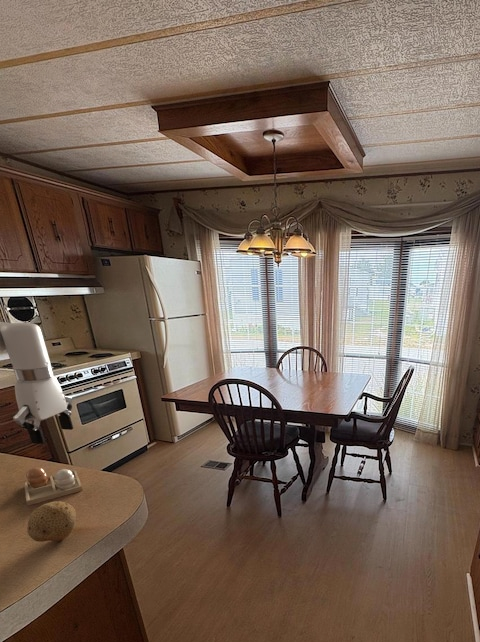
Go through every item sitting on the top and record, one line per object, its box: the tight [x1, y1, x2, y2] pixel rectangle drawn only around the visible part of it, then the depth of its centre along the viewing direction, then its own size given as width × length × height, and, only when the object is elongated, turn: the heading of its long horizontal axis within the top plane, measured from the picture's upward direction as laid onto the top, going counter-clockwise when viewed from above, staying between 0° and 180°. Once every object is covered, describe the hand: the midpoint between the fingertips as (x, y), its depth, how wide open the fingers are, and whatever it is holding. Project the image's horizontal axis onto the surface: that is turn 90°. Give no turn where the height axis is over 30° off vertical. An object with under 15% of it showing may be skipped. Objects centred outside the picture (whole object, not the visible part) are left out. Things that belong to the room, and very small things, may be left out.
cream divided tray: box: [23, 469, 83, 506], centre depth 101 cm, size 13×13×2 cm
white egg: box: [54, 468, 75, 491], centre depth 99 cm, size 4×4×6 cm
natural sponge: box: [27, 500, 77, 543], centre depth 79 cm, size 9×9×10 cm
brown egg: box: [25, 466, 48, 489], centre depth 100 cm, size 4×4×6 cm
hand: (54, 435), depth 93 cm, fingers open, 9 cm apart
